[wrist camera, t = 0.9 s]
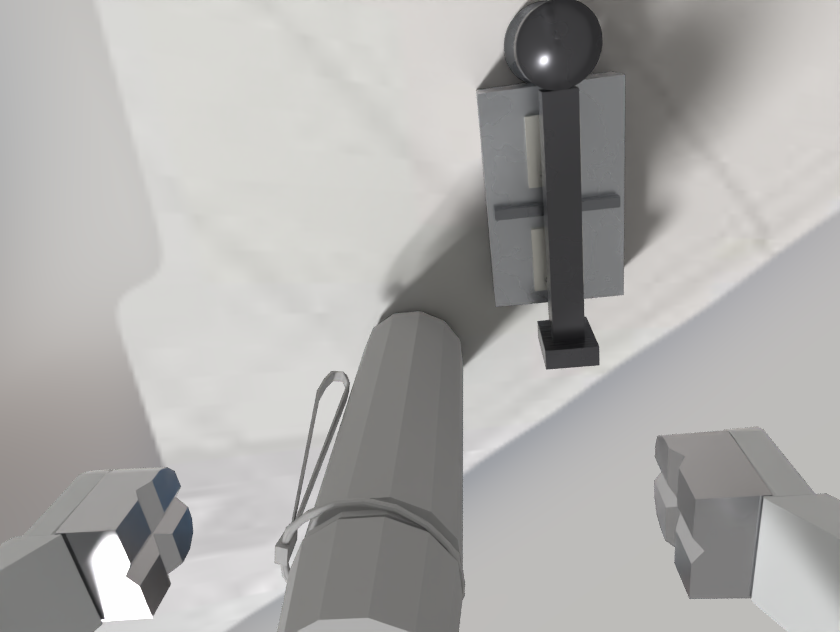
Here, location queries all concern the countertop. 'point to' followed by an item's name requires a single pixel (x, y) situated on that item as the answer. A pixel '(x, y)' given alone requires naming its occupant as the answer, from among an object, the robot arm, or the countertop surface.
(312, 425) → the water bottle
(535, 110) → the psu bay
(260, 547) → the countertop surface
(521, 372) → the countertop surface
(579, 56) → the bar
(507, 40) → the grey round knob
